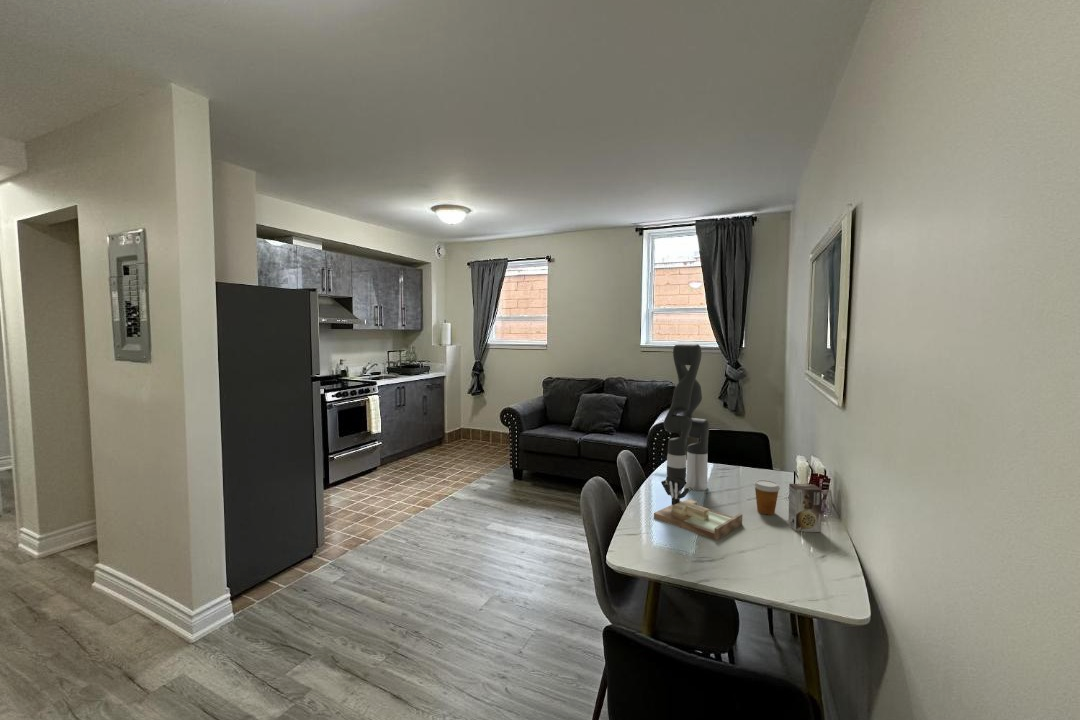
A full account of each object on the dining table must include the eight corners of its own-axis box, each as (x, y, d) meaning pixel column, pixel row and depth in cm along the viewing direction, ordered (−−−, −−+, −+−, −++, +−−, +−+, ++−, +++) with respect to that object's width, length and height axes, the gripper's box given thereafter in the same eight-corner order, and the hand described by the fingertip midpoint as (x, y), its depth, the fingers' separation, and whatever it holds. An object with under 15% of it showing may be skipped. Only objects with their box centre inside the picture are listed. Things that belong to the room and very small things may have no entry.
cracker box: (812, 525, 170) (814, 483, 169) (821, 532, 164) (823, 489, 163) (787, 524, 171) (788, 482, 170) (795, 531, 165) (796, 488, 164)
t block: (688, 507, 183) (688, 498, 183) (713, 515, 174) (714, 506, 174) (671, 514, 175) (672, 505, 175) (697, 523, 167) (697, 514, 166)
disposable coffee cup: (767, 517, 177) (768, 488, 176) (747, 509, 186) (748, 481, 185) (784, 514, 181) (785, 485, 180) (764, 506, 189) (765, 478, 189)
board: (680, 505, 190) (680, 496, 190) (742, 524, 171) (742, 514, 170) (653, 517, 177) (653, 507, 176) (717, 540, 157) (717, 528, 157)
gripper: (696, 466, 177) (695, 509, 178) (667, 459, 187) (666, 500, 188) (686, 470, 172) (685, 514, 173) (657, 462, 182) (656, 504, 183)
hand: (675, 506), depth 180 cm, fingers closed
